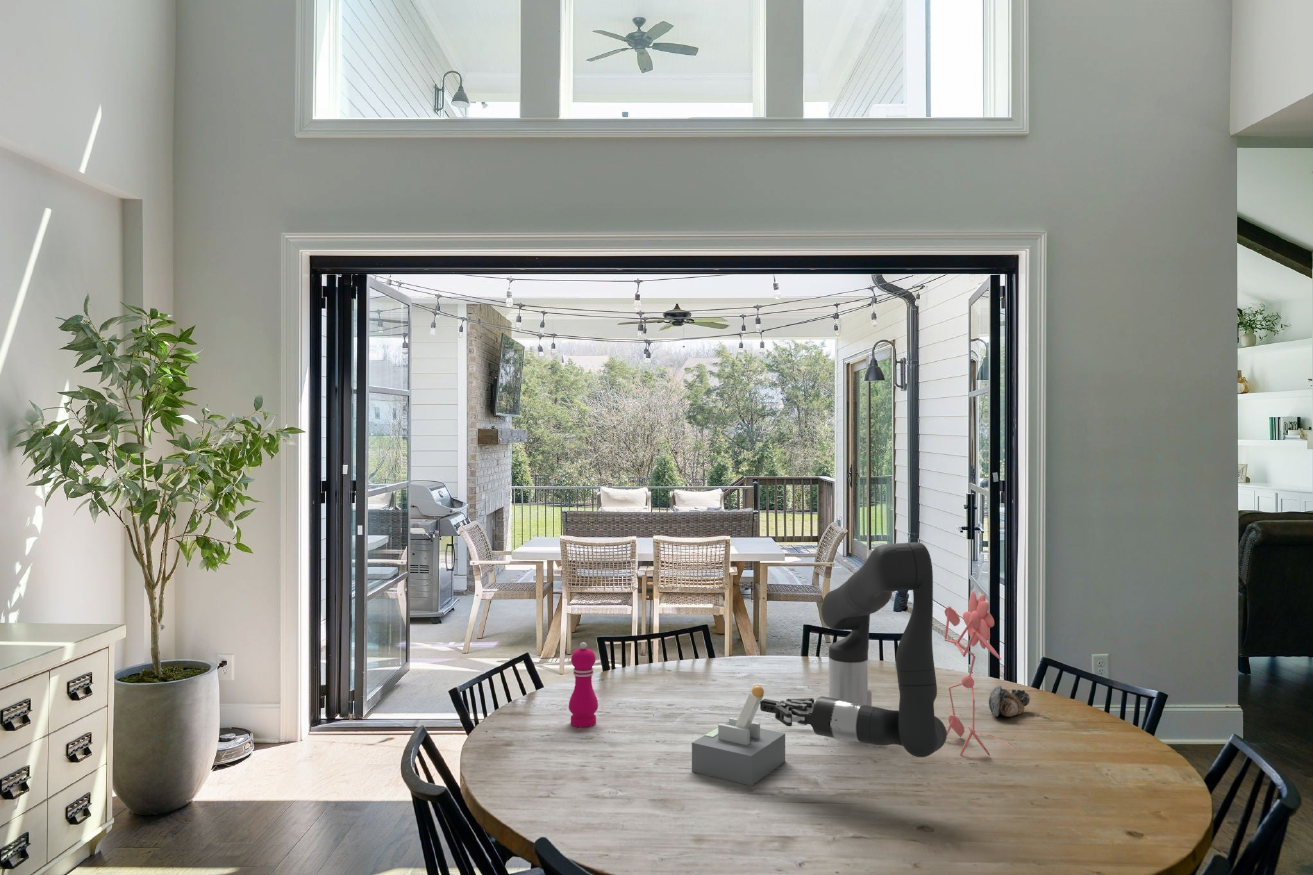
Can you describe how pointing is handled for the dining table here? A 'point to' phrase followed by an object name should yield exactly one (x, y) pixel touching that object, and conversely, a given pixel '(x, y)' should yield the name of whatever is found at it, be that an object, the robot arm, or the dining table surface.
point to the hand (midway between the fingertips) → (761, 704)
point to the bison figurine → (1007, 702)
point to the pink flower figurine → (978, 631)
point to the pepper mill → (583, 688)
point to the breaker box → (738, 752)
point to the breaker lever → (750, 707)
